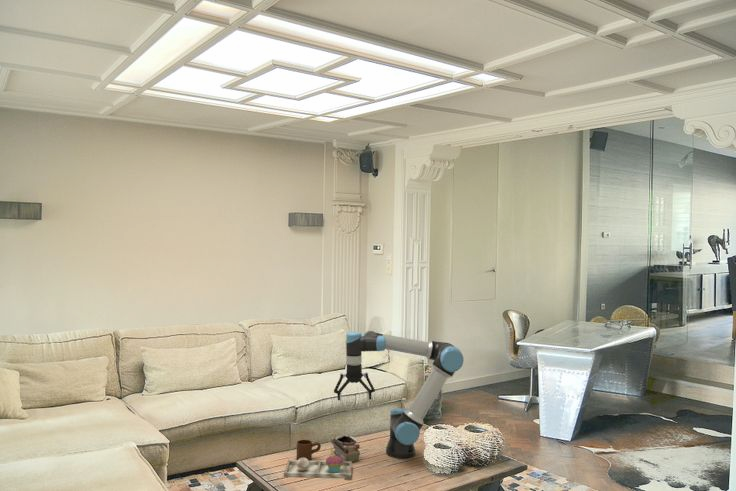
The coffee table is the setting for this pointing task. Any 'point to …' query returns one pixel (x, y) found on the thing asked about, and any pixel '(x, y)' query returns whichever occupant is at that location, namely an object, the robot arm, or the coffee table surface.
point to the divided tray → (317, 470)
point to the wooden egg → (302, 464)
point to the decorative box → (346, 448)
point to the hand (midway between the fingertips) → (354, 406)
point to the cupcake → (334, 463)
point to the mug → (306, 449)
